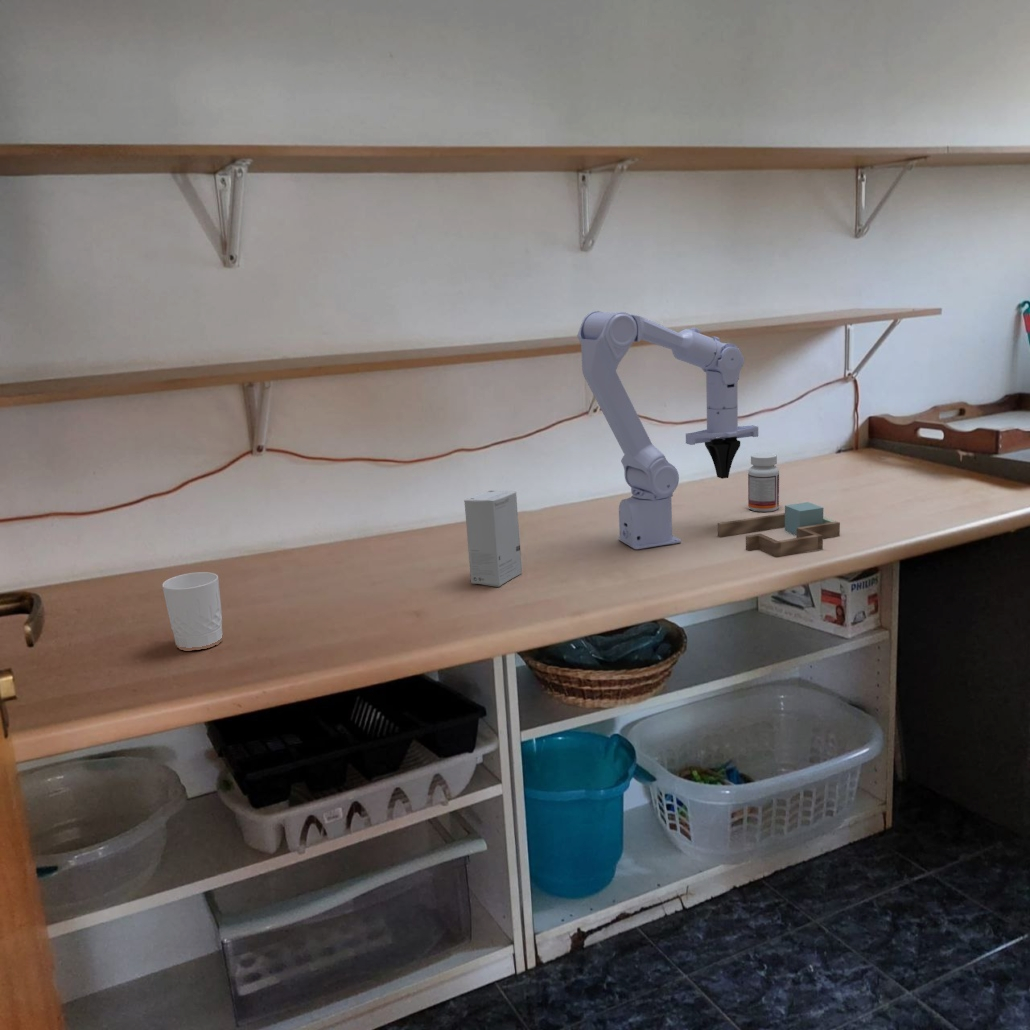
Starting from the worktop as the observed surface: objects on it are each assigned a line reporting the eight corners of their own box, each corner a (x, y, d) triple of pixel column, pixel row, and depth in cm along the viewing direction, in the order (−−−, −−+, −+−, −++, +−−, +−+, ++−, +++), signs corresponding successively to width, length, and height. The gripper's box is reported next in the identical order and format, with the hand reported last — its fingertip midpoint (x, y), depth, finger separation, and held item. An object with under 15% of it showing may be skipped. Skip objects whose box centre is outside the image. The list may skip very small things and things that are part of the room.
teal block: (799, 537, 179) (799, 511, 178) (784, 531, 184) (784, 505, 183) (823, 533, 181) (823, 507, 179) (807, 527, 185) (808, 502, 184)
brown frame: (765, 558, 168) (765, 544, 167) (717, 535, 183) (717, 523, 183) (858, 543, 173) (859, 529, 173) (804, 522, 189) (804, 509, 188)
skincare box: (499, 588, 162) (493, 501, 158) (468, 584, 165) (462, 499, 161) (523, 573, 169) (518, 489, 165) (493, 569, 172) (488, 487, 168)
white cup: (232, 632, 149) (224, 570, 147) (219, 651, 142) (209, 586, 139) (181, 635, 149) (171, 573, 147) (165, 655, 141) (154, 590, 139)
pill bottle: (760, 503, 205) (760, 450, 202) (785, 508, 200) (785, 454, 197) (742, 509, 201) (741, 455, 198) (766, 514, 196) (766, 459, 193)
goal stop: (831, 535, 179) (831, 522, 178) (803, 524, 187) (803, 511, 187) (836, 534, 179) (836, 521, 179) (807, 523, 188) (807, 510, 187)
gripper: (697, 413, 177) (699, 486, 181) (767, 405, 181) (767, 476, 185) (679, 409, 184) (681, 479, 187) (747, 401, 188) (747, 469, 191)
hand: (722, 477), depth 186 cm, fingers closed
